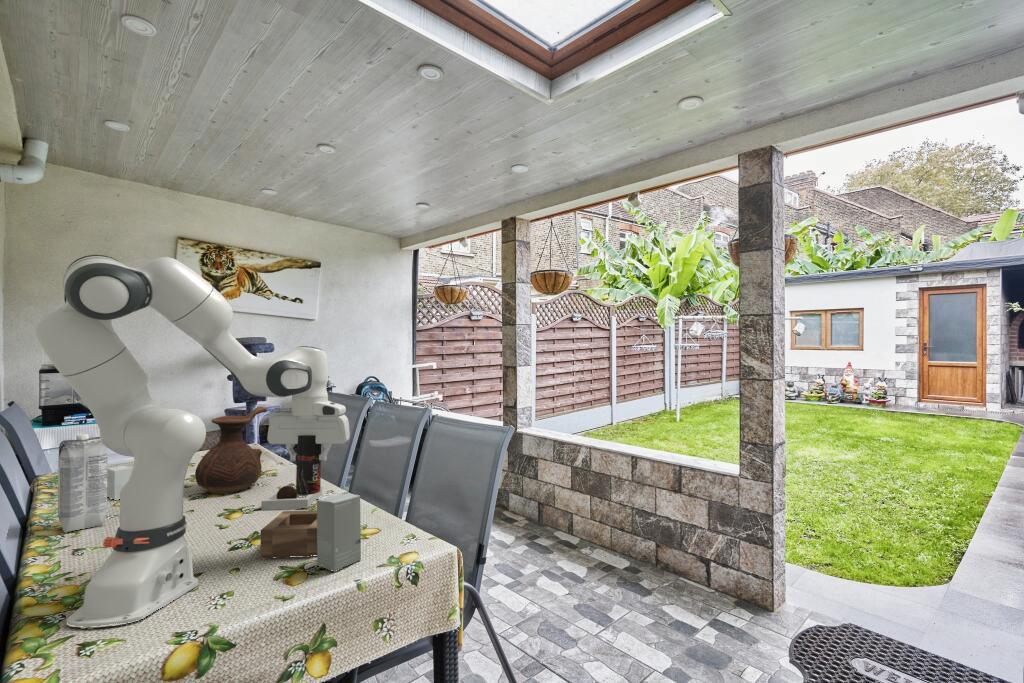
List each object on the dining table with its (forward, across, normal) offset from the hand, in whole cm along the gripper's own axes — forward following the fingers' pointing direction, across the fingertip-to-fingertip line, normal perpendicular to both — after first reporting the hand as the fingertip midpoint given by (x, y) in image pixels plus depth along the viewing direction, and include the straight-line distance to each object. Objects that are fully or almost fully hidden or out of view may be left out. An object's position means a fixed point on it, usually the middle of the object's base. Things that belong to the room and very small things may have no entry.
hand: (308, 460), depth 126 cm
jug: (+22, -48, +58) cm, 78 cm away
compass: (+22, -20, +37) cm, 47 cm away
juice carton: (+23, -72, +22) cm, 79 cm away
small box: (+23, -83, +52) cm, 100 cm away
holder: (+22, -2, +1) cm, 22 cm away
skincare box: (+22, +11, -10) cm, 27 cm away
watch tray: (+22, -18, +39) cm, 48 cm away
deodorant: (+8, 0, 0) cm, 8 cm away
